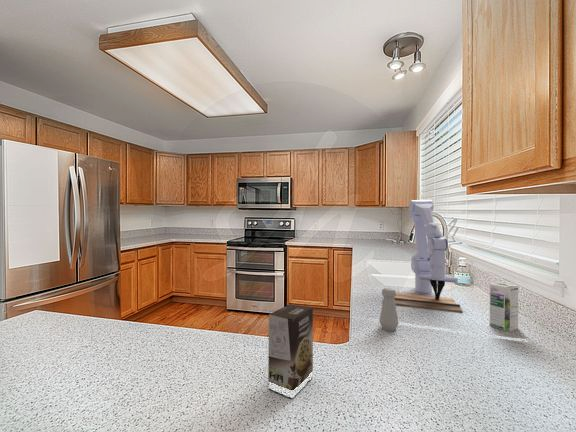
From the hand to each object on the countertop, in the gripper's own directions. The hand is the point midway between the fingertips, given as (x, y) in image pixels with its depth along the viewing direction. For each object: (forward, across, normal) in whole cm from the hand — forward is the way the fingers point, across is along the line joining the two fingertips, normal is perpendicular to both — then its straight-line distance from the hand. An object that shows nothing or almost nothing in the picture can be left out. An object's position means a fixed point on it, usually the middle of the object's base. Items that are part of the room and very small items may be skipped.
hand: (437, 298), depth 121 cm
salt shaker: (+2, -17, -37) cm, 41 cm away
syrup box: (+2, +17, -23) cm, 29 cm away
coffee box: (+2, -34, -77) cm, 84 cm away
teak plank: (+2, -7, -1) cm, 7 cm away
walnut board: (+2, -7, -10) cm, 12 cm away
